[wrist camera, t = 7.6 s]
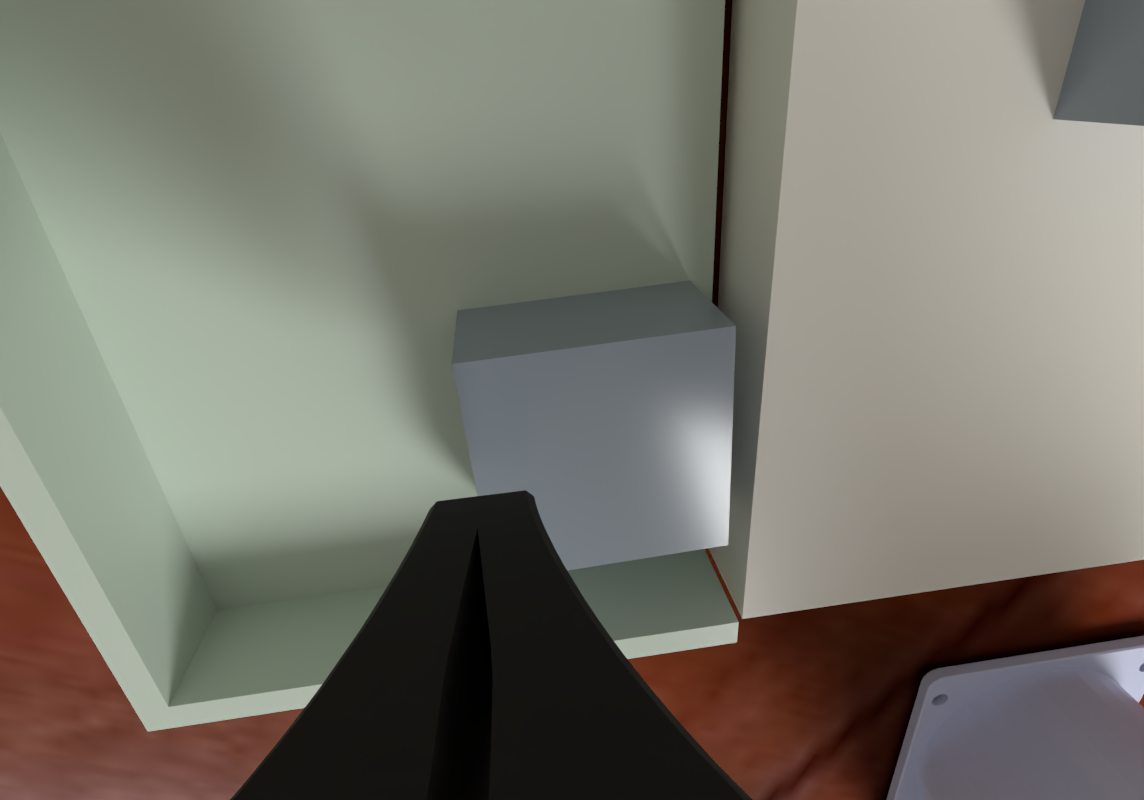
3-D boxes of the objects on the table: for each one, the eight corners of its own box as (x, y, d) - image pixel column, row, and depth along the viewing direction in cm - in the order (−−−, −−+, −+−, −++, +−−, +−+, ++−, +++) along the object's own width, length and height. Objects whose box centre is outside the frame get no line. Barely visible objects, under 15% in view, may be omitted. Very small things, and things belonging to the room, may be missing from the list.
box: (694, 548, 16) (736, 642, 13) (207, 615, 15) (147, 731, 12) (729, -383, 8) (843, -596, 6) (-254, -372, 7) (-665, -622, 5)
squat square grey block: (690, 472, 14) (728, 544, 12) (492, 501, 14) (495, 582, 12) (689, 281, 12) (736, 326, 10) (457, 310, 12) (451, 364, 10)
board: (1136, 484, 17) (1235, 546, 15) (706, 543, 16) (742, 618, 14) (1517, -383, 9) (1833, -523, 7) (750, -372, 8) (844, -531, 6)
